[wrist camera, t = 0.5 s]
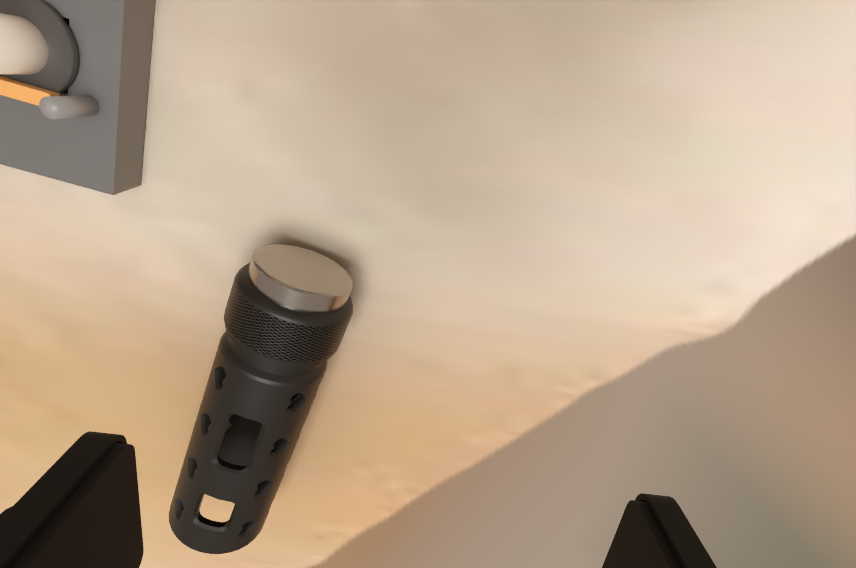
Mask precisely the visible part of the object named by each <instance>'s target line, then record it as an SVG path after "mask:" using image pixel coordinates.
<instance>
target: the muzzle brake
mask: <svg viewBox="0 0 856 568" xmlns="http://www.w3.org/2000/svg"><path fill="white" fill-rule="evenodd" d="M352 286H353V282H352V279H351V277H350V275H349V274H348V272H347V271H346V270H345V269H344V268H343V267H341V266H340V265H339V264H337V263H336V262H334V261H333V260H331V259H329V258H327V257H326V256H324V255H322V254H319V253H317V252H314V251H311V250H309V249H305V248H301V247H297V246H291V245H283V244H272V245H265V246H262V247H260V248H258V249H257V250H256V251H255V252H254V254H253V256H252V259H251V262H250V263H248V264H247V265H245V266H244V267H243V268H241V269H240V270H239V271H238V273H237V274H236V276H235V279H234V283H233V286H232V289H231V293H230V296H229V299H228V303H227V306H226V310H225V314H224V321H225V327H226V332H225V333H224V334H223V336H222V338H221V340H220V343H219V346H218V350H217V353H216V356H215V360H214V363H213V366H212V370H211V373H210V376H209V380H208V383H207V386H206V390H205V393H204V396H203V400H202V403H201V406H200V410H199V413H198V416H197V420H196V423H195V426H194V430H193V433H192V436H191V440H190V443H189V446H188V449H187V453H186V456H185V459H184V463H183V466H182V469H181V473H180V476H179V479H178V483H177V486H176V489H175V493H174V496H173V499H172V503H171V506H170V511H169V523H170V526H171V529H172V531H173V532H174V534H175V535H176V537H177V538H178V539H179V540H180V541H181V542H182V543H183V544H185V545H186V546H188V547H190V548H191V549H194V550H197V551H199V552H204V553H209V554H222V553H228V552H232V551H235V550H238V549H241V548H242V547H244V546H246V545H248V544H249V543H250V542H251V541H252V540H254V539H255V538H256V536H257V535H258V534H259V533H260V531H261V529H262V527H263V525H264V522H265V520H266V517H267V515H268V512H269V509H270V506H271V504H272V502H273V500H274V497H275V495H276V492H277V490H278V487H279V485H280V482H281V480H282V478H283V475H284V472H285V468H286V466H287V464H288V462H289V460H290V458H291V455H292V453H293V450H294V448H295V445H296V443H297V440H298V438H299V435H300V432H301V429H302V426H303V424H304V422H305V420H306V418H307V415H308V413H309V410H310V408H311V405H312V403H313V400H314V398H315V395H316V392H317V389H318V386H319V384H320V382H321V380H322V378H323V376H324V373H325V371H326V366H327V360H328V359H329V358H330V357H331V356H332V355H333V354H334V353H335V352H336V351H337V349H338V347H339V345H340V343H341V340H342V338H343V335H344V333H345V330H346V328H347V325H348V323H349V320H350V318H351V315H352V311H353V305H352V301H351V297H350V293H351V290H352ZM204 494H207V495H209V496H212V497H214V498H217V499H220V500H225V501H230V502H233V503H235V506H234V509H233V512H232V514H231V517H230V520H228V521H227V522H222V523H221V522H215V521H211V520H209V519H206V518H204V517H203V516H202V515H201V514H200V512H199V508H200V505H201V502H202V499H203V496H204Z"/></svg>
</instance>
